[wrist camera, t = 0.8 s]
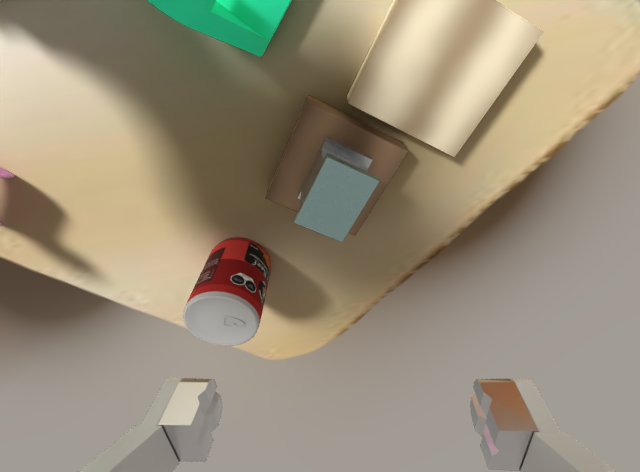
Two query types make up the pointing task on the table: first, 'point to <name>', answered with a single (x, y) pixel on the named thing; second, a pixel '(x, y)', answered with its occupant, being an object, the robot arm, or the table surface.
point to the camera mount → (230, 19)
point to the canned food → (229, 293)
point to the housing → (335, 189)
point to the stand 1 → (308, 141)
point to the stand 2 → (441, 67)
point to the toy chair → (5, 174)
